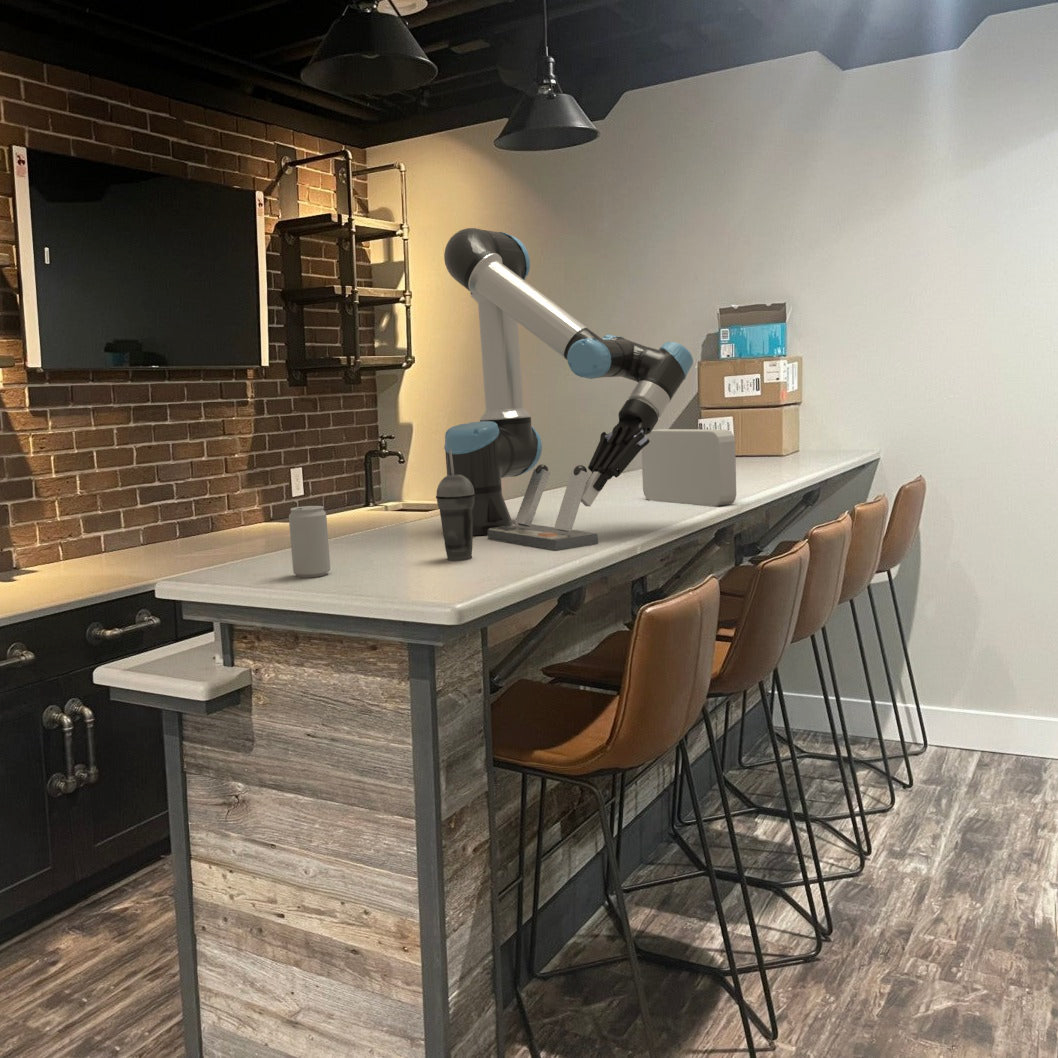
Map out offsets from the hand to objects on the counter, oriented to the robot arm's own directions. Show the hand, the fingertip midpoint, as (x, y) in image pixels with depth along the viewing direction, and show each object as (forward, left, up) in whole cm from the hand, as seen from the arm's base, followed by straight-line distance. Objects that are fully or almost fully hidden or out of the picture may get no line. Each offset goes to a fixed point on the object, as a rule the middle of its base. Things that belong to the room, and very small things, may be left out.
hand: (583, 502), depth 201 cm
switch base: (-9, +2, -8) cm, 12 cm away
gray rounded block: (+18, +60, -8) cm, 64 cm away
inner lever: (-14, +7, -6) cm, 17 cm away
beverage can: (-44, -31, -8) cm, 54 cm away
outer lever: (-4, -3, -6) cm, 8 cm away
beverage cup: (-21, -17, -8) cm, 28 cm away
